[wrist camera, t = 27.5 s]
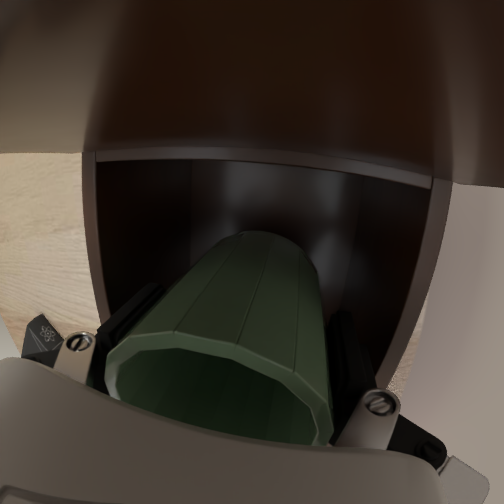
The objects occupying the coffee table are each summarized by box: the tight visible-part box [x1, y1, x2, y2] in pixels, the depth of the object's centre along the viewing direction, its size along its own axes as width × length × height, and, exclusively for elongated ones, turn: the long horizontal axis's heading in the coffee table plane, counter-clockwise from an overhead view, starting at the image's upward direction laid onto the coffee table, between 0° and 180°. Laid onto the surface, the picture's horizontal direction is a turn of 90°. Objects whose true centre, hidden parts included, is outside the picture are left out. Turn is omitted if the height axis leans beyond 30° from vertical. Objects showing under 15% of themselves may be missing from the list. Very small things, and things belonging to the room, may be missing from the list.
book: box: [21, 314, 64, 358], centre depth 30 cm, size 22×15×3 cm
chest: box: [82, 146, 453, 447], centre depth 14 cm, size 14×13×10 cm
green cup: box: [104, 231, 334, 446], centre depth 10 cm, size 7×7×8 cm
